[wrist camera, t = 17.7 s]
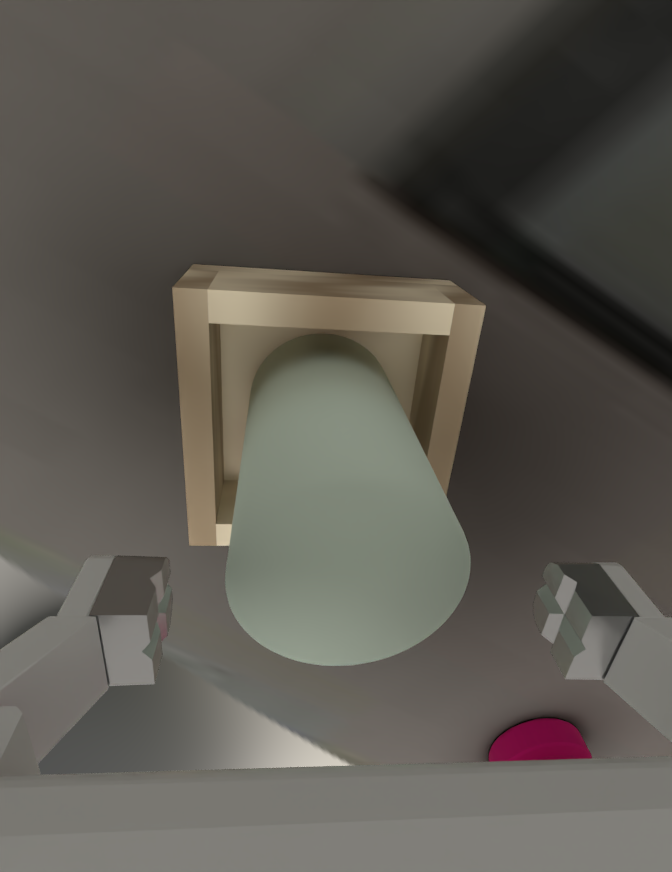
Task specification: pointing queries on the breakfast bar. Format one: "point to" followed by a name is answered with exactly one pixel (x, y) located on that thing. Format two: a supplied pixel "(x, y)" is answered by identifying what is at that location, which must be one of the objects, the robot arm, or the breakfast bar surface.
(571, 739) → the pepper mill
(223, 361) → the square wooden tray
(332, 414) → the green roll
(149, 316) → the breakfast bar surface
